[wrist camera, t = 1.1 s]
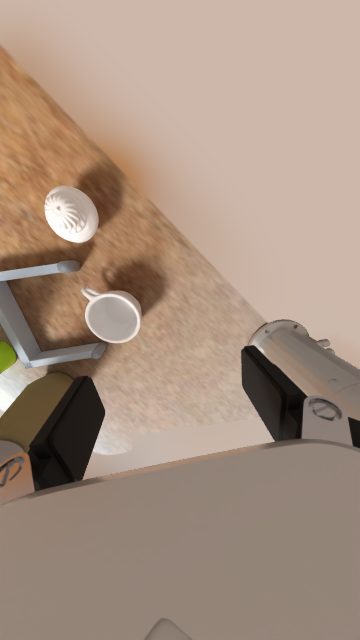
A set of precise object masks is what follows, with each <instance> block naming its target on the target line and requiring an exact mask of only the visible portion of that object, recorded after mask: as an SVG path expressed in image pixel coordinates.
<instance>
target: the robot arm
mask: <svg viewBox="0 0 360 640" xmlns="http://www.w3.org/2000/svg"><path fill="white" fill-rule="evenodd" d="M329 345H330V342H329V341H328V340H327V339H324V340H319V341H316V340H314V339H312V338H311V337H309V334H308V332H307V330H306V329H305V328H304V327H303V326H302V325H300V324H299V323H297V322H294V321H291V320H276V321H273V322H270V323H268V324H266V325H264V326H263V327H262V328H260V329H259V330H258V331H257V332H256V333H255V334H254V335H253V337H252V338H251V340H250V342H249V344H248V346H245V347H244V349H242V350H241V363H242V386H243V389H244V390H245V392H246V394H247V395H248V397H249V399H250V400H251V402H252V404H253V405H254V407H255V409H256V411H257V412H258V414H259V416H260V417H261V419H262V421H263V422H264V424H265V426H266V427H267V429H268V430H269V432H270V434H271V436H272V437H273V439H274V440H275V442H271V443H266V444H260V445H255V446H249V447H244V448H238V449H233V450H228V451H223V452H218V453H213V454H208V455H203V456H198V457H193V458H188V459H183V460H178V461H173V462H168V463H164V464H158V465H153V466H149V467H144V468H139V469H134V470H130V471H125V472H120V473H115V474H110V475H105V476H101V477H96V478H91V479H86V480H82V479H83V476H84V473H85V471H86V468H87V465H88V462H89V459H90V456H91V454H92V451H93V448H94V445H95V442H96V439H97V436H98V434H99V431H100V428H101V425H102V422H103V419H104V417H105V409H104V406H103V404H102V402H101V399H100V397H99V395H98V392H97V390H96V388H95V385H94V383H93V381H92V379H91V378H90V377H88V376H81V377H77V378H75V380H74V381H73V382H72V384H71V385H70V387H69V388H68V390H67V391H66V393H65V394H64V395H63V397H62V398H61V400H60V401H59V403H58V404H57V406H56V407H55V409H54V410H53V411H52V413H51V414H50V416H49V417H48V419H47V420H46V422H45V423H44V424H43V426H42V427H41V429H40V430H39V432H38V433H37V435H36V436H35V438H34V439H33V440H32V442H31V443H30V445H29V448H30V449H29V451H28V452H27V453H18V454H16V455H13V456H11V457H10V458H8V459H6V460H5V461H4V462H2V463H1V464H0V640H360V369H358V368H356V367H354V366H353V365H351V364H349V363H348V362H346V361H345V360H343V359H341V358H339V357H338V356H336V355H335V352H334V350H332V349H331V348H327V349H324V348H323V347H327V346H329Z"/></svg>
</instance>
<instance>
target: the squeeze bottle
mask: <svg viewBox="0 0 360 640" xmlns="http://www.w3.org/2000/svg"><path fill="white" fill-rule="evenodd" d="M73 381H74V380H73V379H72V378H71V377H70V376H69V375H66V374H64V373H60V372H54V373H50V374H48V375H46V376H44V377H42V378H40V379H38V380H36V381H34V382H32V383H31V384H29V385H27V387H26V388H25V389H24V390H23V391H22V393H21V394H20V395H19V396H18V397H17V398H16V400H15V401H14V402H13V403H12V404H11V406H10V407H9V408H8V409H7V410H6V412H5V413H4V414H3V415H2V416H1V418H0V464H1V463H2V462H4V461H5V460H6V459H8V458H10V457H11V456H13V455H16V454H18V453H27V452H28V451H29V449H30V448H29V445H30V443H31V442H32V440H33V439H34V438H35V436H36V435H37V433H38V432H39V430H40V429H41V427H42V426H43V424H44V423H45V422H46V420H47V419H48V417H49V416H50V414H51V413H52V411H53V410H54V409H55V407H56V406H57V404H58V403H59V401H60V400H61V398H62V397H63V395H64V394H65V393H66V391H67V390H68V388H69V387H70V385H71V384H72V382H73Z"/></svg>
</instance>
